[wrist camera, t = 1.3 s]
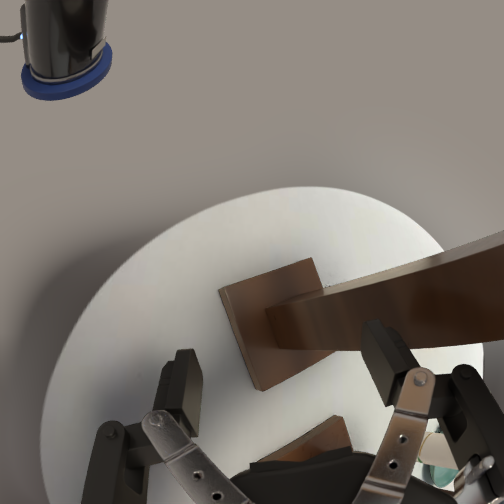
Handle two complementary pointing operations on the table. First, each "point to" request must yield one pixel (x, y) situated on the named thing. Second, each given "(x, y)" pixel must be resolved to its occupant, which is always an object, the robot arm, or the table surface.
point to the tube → (436, 451)
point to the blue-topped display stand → (319, 443)
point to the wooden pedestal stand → (366, 308)
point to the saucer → (442, 474)
